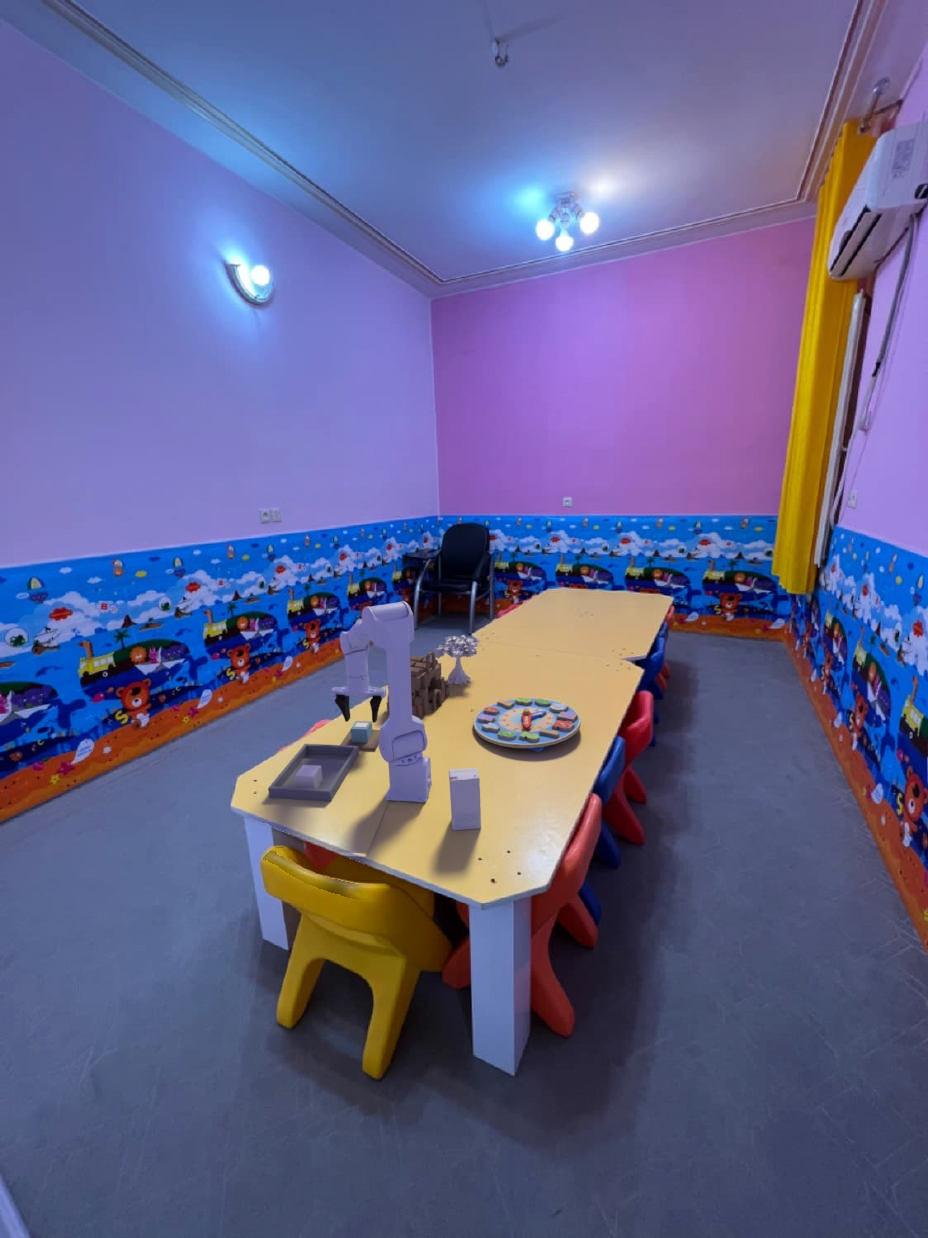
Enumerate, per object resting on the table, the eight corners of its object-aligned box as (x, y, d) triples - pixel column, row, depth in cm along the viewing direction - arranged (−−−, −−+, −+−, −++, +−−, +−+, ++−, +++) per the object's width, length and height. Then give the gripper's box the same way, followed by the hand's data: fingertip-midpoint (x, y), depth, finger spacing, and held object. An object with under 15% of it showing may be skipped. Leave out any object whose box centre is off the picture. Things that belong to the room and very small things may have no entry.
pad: (385, 733, 139) (385, 730, 139) (375, 752, 129) (375, 748, 129) (351, 732, 140) (351, 728, 140) (339, 750, 130) (338, 746, 130)
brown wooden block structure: (418, 687, 171) (416, 637, 166) (455, 695, 164) (453, 642, 159) (380, 713, 152) (376, 657, 147) (420, 722, 145) (417, 664, 140)
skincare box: (478, 815, 104) (478, 765, 101) (481, 830, 100) (481, 778, 96) (450, 818, 103) (448, 767, 100) (451, 832, 99) (450, 780, 96)
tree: (473, 668, 187) (473, 627, 182) (490, 684, 172) (489, 639, 168) (428, 675, 181) (426, 633, 176) (441, 692, 166) (440, 646, 162)
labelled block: (372, 734, 136) (371, 721, 135) (367, 742, 132) (366, 729, 131) (357, 734, 137) (355, 720, 136) (351, 742, 132) (350, 728, 131)
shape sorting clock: (507, 697, 162) (507, 680, 160) (596, 721, 145) (597, 702, 143) (452, 736, 138) (452, 716, 136) (551, 770, 121) (551, 748, 119)
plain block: (322, 780, 117) (321, 765, 115) (315, 791, 112) (313, 776, 111) (304, 779, 117) (303, 764, 116) (296, 790, 113) (294, 775, 112)
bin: (359, 756, 128) (358, 746, 127) (331, 803, 109) (330, 791, 108) (306, 753, 129) (304, 743, 128) (269, 799, 111) (268, 788, 110)
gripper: (387, 669, 132) (390, 714, 136) (336, 668, 134) (340, 713, 138) (380, 679, 126) (384, 726, 129) (326, 677, 127) (331, 724, 131)
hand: (361, 720), depth 133 cm, fingers open, 7 cm apart
